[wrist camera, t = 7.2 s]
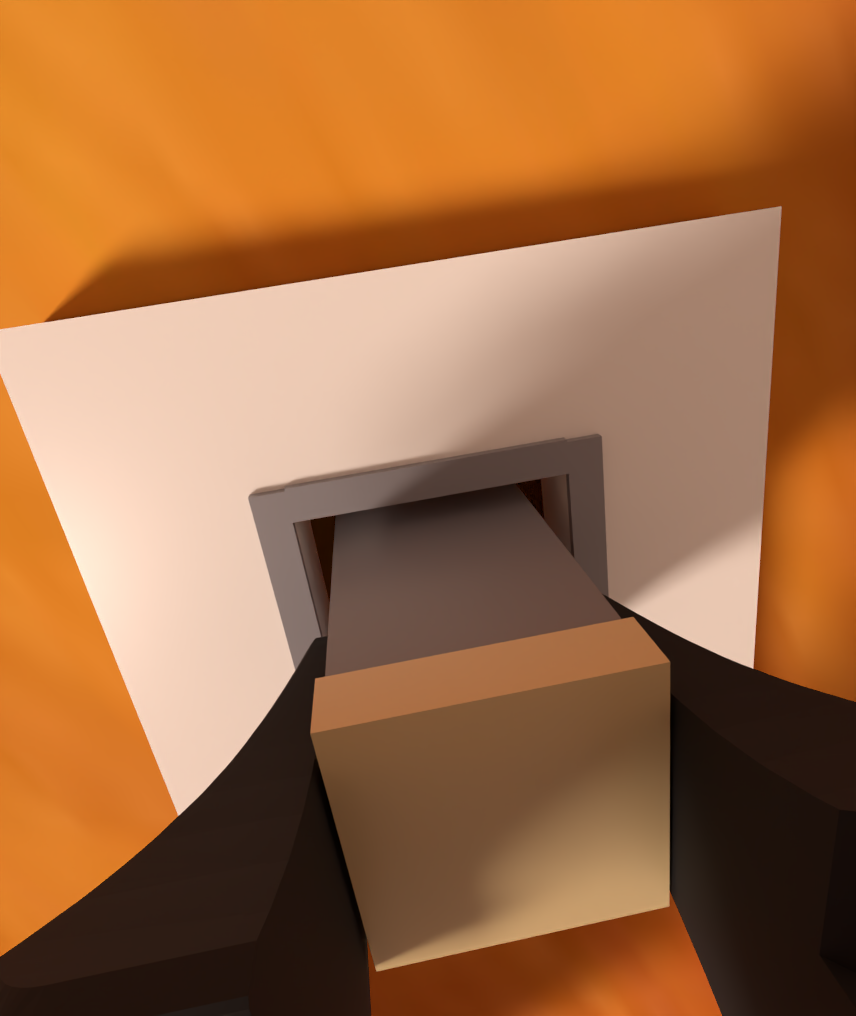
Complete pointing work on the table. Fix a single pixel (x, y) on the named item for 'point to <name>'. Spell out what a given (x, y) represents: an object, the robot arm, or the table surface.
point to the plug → (487, 731)
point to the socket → (403, 446)
